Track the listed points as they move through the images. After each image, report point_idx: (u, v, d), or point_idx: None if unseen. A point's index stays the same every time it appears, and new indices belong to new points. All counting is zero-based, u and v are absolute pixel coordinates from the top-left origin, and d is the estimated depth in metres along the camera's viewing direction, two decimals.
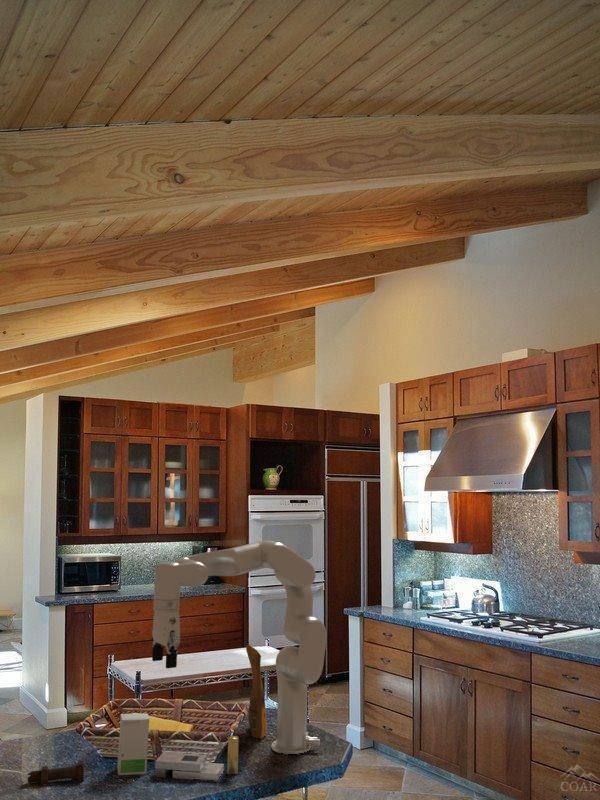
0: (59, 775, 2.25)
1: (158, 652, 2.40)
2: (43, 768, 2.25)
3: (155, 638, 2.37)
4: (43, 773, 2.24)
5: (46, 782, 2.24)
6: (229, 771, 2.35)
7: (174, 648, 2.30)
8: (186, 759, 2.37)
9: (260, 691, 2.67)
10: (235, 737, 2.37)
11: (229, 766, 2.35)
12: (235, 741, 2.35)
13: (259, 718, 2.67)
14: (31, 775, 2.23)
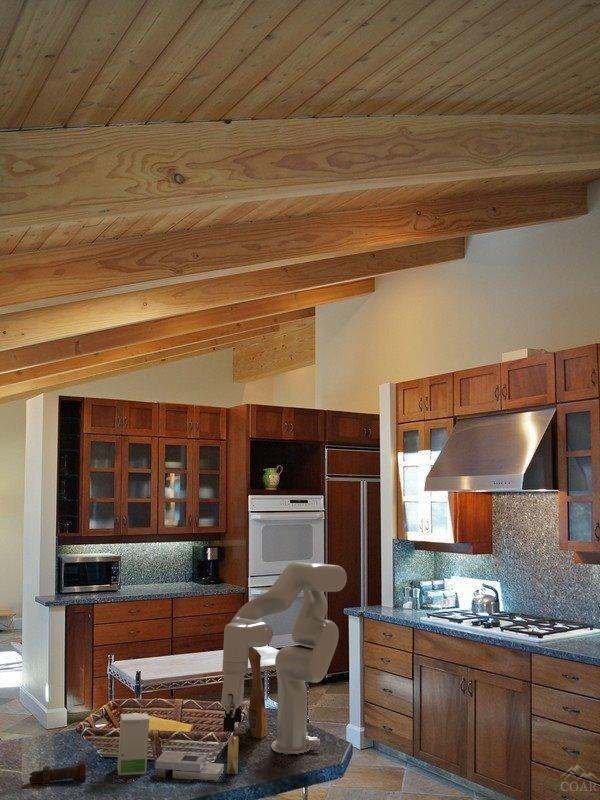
0: (61, 775, 2.25)
1: None
2: (44, 768, 2.25)
3: (239, 703, 2.35)
4: (45, 773, 2.23)
5: (48, 782, 2.24)
6: (229, 771, 2.35)
7: None
8: (186, 759, 2.37)
9: (260, 691, 2.67)
10: (235, 737, 2.37)
11: (229, 766, 2.35)
12: (235, 741, 2.35)
13: (259, 718, 2.67)
14: (33, 775, 2.23)
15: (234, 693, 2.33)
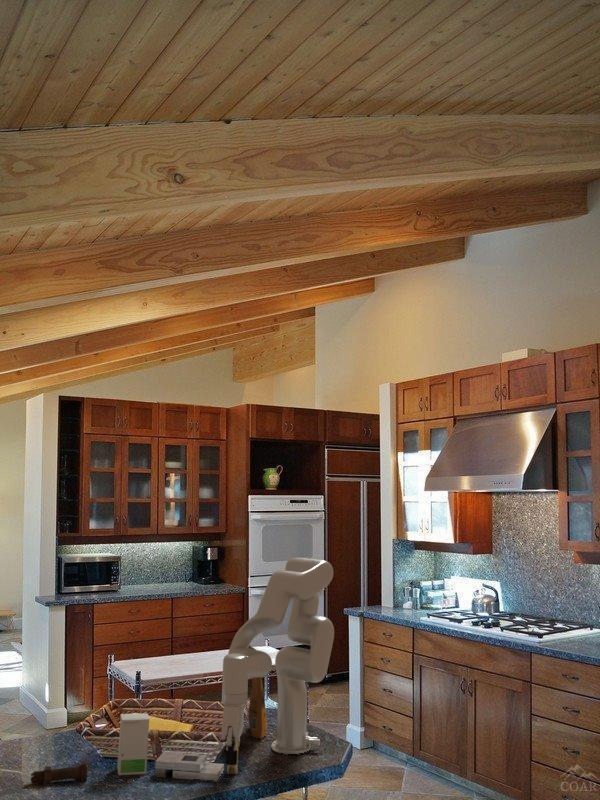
0: (62, 775, 2.25)
1: None
2: (46, 768, 2.25)
3: (239, 735, 2.34)
4: (46, 774, 2.23)
5: (49, 782, 2.24)
6: (229, 771, 2.35)
7: None
8: (186, 759, 2.37)
9: (260, 691, 2.67)
10: None
11: (229, 766, 2.35)
12: None
13: (259, 718, 2.67)
14: (34, 775, 2.23)
15: (234, 725, 2.32)
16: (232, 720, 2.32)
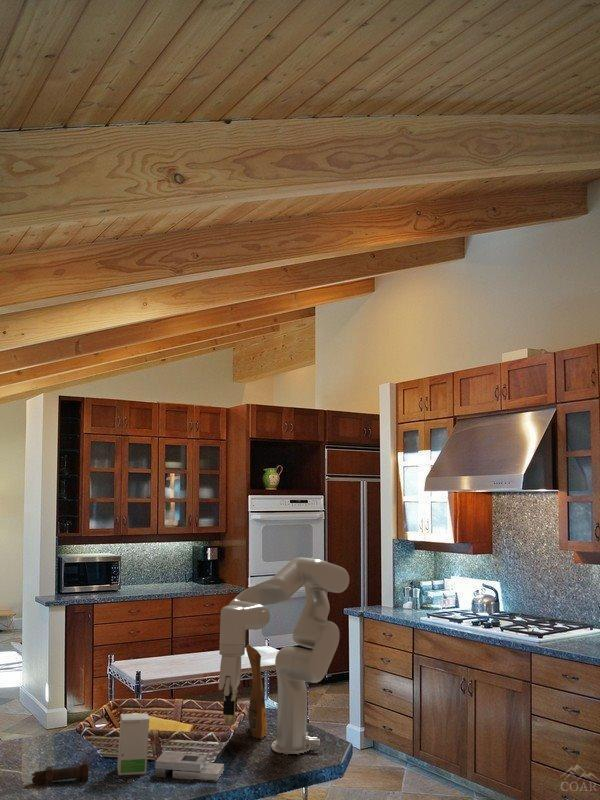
0: (63, 775, 2.25)
1: None
2: (47, 768, 2.25)
3: (236, 685, 2.35)
4: (47, 774, 2.23)
5: (51, 782, 2.24)
6: (226, 721, 2.36)
7: None
8: (186, 759, 2.37)
9: (260, 691, 2.67)
10: None
11: (226, 716, 2.36)
12: None
13: (259, 718, 2.67)
14: (35, 775, 2.23)
15: (232, 675, 2.33)
16: (230, 670, 2.33)
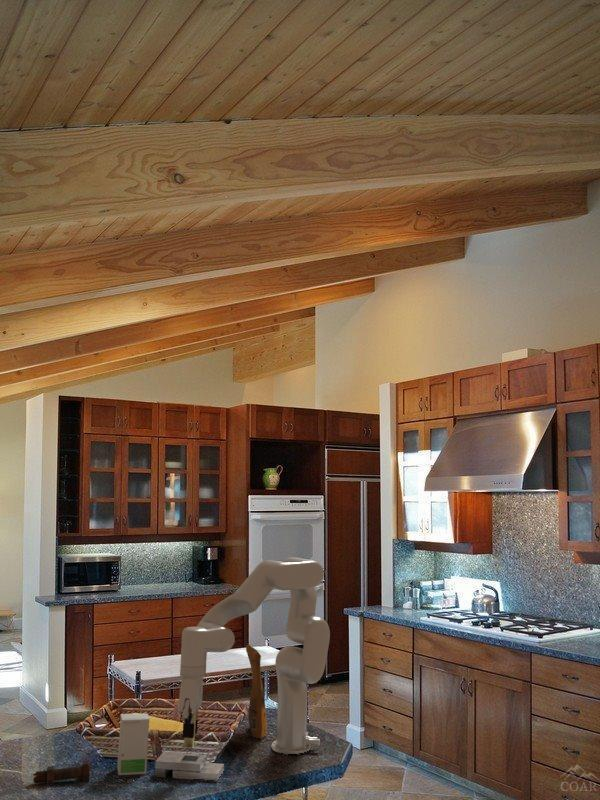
0: (65, 775, 2.25)
1: None
2: (48, 768, 2.25)
3: (196, 708, 2.33)
4: (49, 773, 2.23)
5: (52, 782, 2.24)
6: (186, 744, 2.34)
7: None
8: (186, 759, 2.37)
9: (260, 691, 2.67)
10: None
11: (186, 739, 2.34)
12: None
13: (259, 718, 2.67)
14: (37, 775, 2.23)
15: (191, 698, 2.31)
16: (189, 692, 2.31)
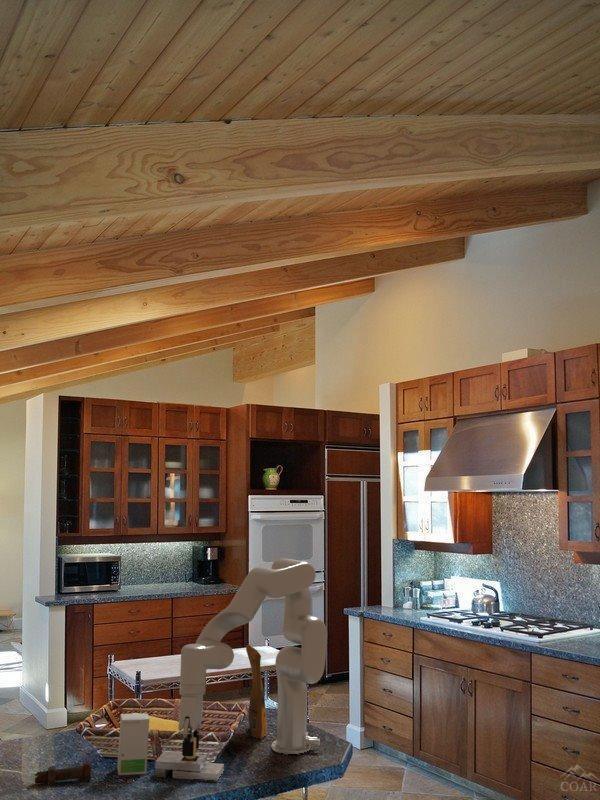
0: (66, 775, 2.25)
1: None
2: (50, 768, 2.25)
3: (196, 725, 2.33)
4: (50, 774, 2.23)
5: (53, 782, 2.23)
6: None
7: None
8: None
9: (260, 691, 2.67)
10: (193, 738, 2.35)
11: None
12: None
13: (259, 718, 2.67)
14: (38, 776, 2.23)
15: (191, 716, 2.31)
16: (189, 710, 2.31)
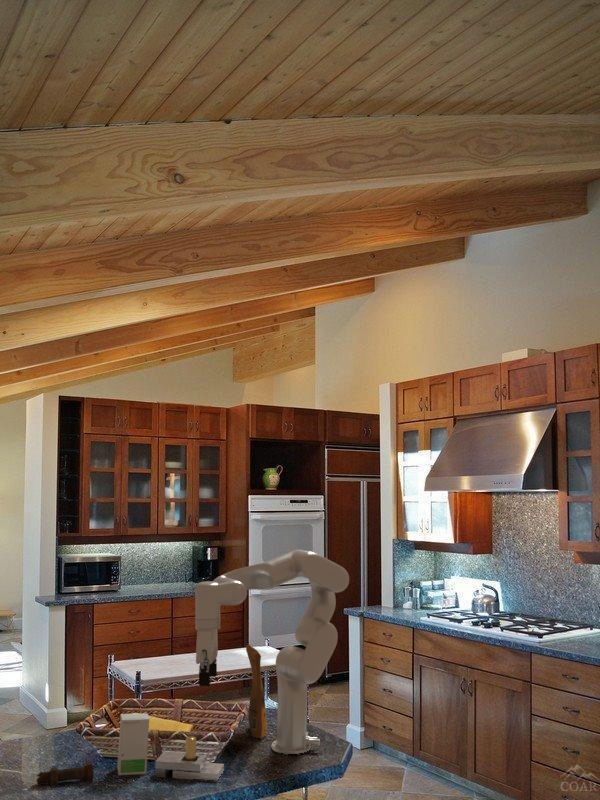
0: (68, 775, 2.25)
1: None
2: (52, 769, 2.24)
3: (213, 658, 2.42)
4: (52, 774, 2.23)
5: (56, 783, 2.23)
6: None
7: None
8: None
9: (260, 691, 2.67)
10: (193, 738, 2.35)
11: None
12: (193, 742, 2.34)
13: (259, 718, 2.67)
14: (40, 776, 2.23)
15: (208, 649, 2.39)
16: (206, 644, 2.39)
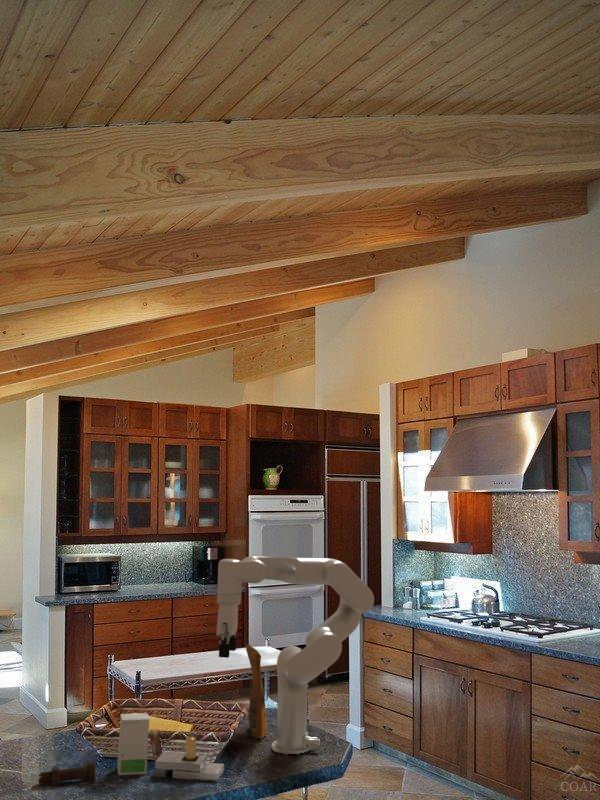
0: (70, 775, 2.25)
1: None
2: (54, 769, 2.24)
3: (233, 632, 2.53)
4: (54, 774, 2.23)
5: (57, 783, 2.23)
6: None
7: None
8: None
9: (260, 691, 2.67)
10: (193, 738, 2.35)
11: None
12: (193, 742, 2.34)
13: (259, 718, 2.67)
14: (42, 776, 2.23)
15: (229, 622, 2.51)
16: (226, 617, 2.51)
